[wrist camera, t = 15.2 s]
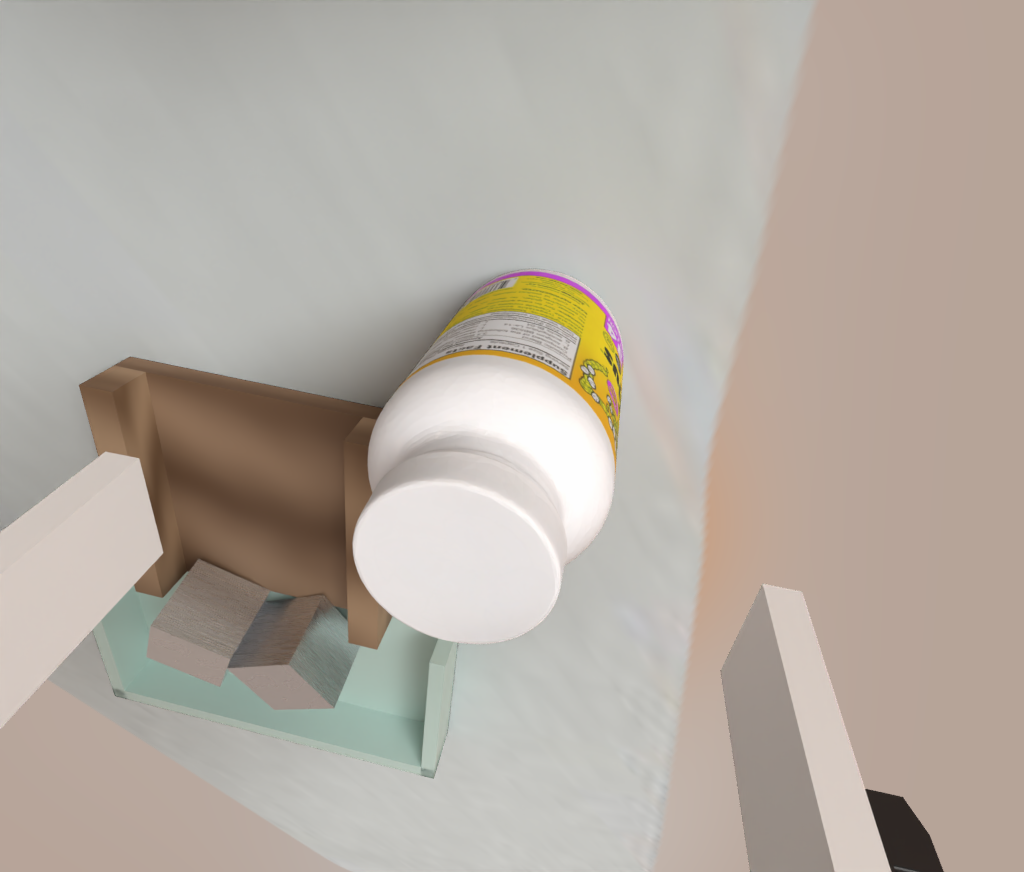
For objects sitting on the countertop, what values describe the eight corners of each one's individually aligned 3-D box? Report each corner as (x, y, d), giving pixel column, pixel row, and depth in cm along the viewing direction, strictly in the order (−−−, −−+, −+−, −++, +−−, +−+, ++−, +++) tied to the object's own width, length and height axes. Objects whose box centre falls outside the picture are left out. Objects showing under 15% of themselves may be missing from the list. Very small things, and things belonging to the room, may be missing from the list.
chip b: (265, 601, 34) (226, 668, 31) (323, 594, 32) (288, 664, 29) (307, 643, 36) (274, 709, 33) (363, 638, 34) (334, 708, 31)
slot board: (130, 356, 28) (78, 385, 26) (404, 412, 27) (379, 448, 24) (173, 553, 34) (135, 591, 32) (397, 605, 33) (377, 649, 31)
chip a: (198, 558, 32) (150, 625, 29) (270, 590, 33) (230, 659, 30) (191, 592, 35) (146, 657, 32) (258, 621, 36) (220, 687, 33)
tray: (115, 539, 35) (74, 576, 32) (460, 620, 33) (445, 666, 30) (148, 656, 40) (114, 696, 37) (447, 731, 38) (433, 778, 36)
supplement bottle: (597, 440, 26) (561, 709, 15) (445, 397, 26) (302, 630, 15) (649, 288, 22) (651, 497, 11) (473, 241, 23) (312, 400, 12)
